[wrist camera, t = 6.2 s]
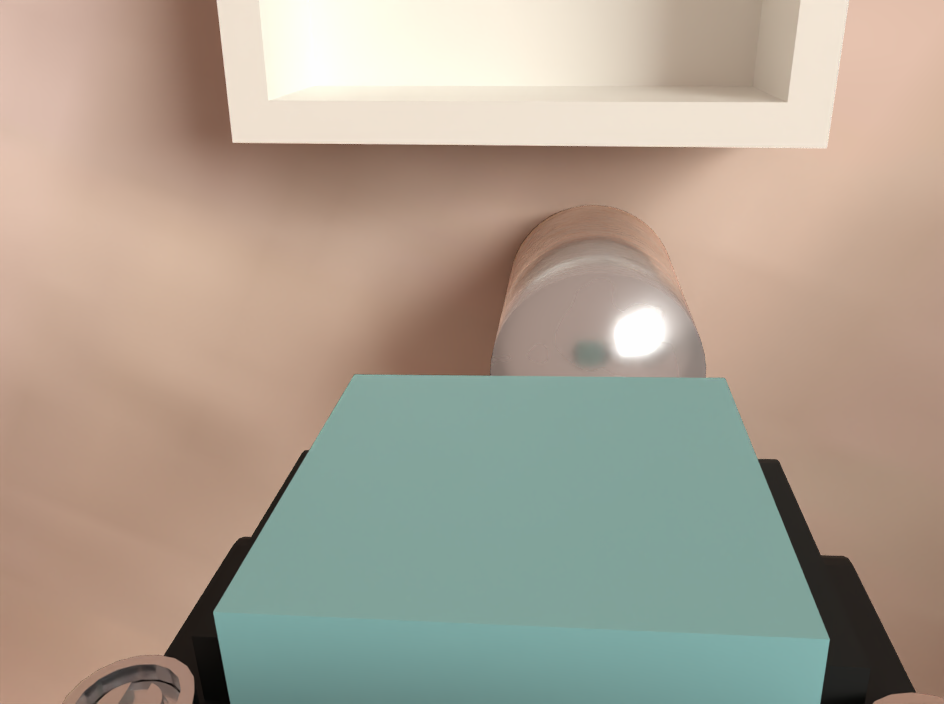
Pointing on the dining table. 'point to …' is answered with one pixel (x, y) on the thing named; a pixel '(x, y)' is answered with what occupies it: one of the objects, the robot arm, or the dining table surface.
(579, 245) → the steel cylinder
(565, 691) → the teal cube
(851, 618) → the robot arm
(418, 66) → the tote
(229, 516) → the dining table surface
